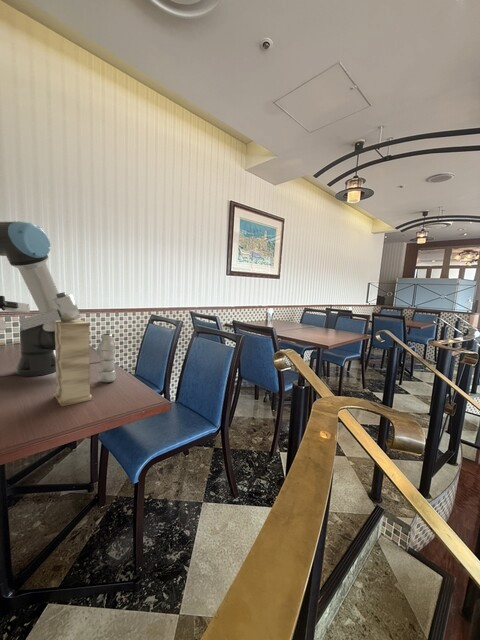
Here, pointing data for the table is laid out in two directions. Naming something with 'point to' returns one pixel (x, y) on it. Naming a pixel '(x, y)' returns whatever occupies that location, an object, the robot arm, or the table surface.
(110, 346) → the plastic bottle
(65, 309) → the grey round-headed handle
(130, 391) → the table surface
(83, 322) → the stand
